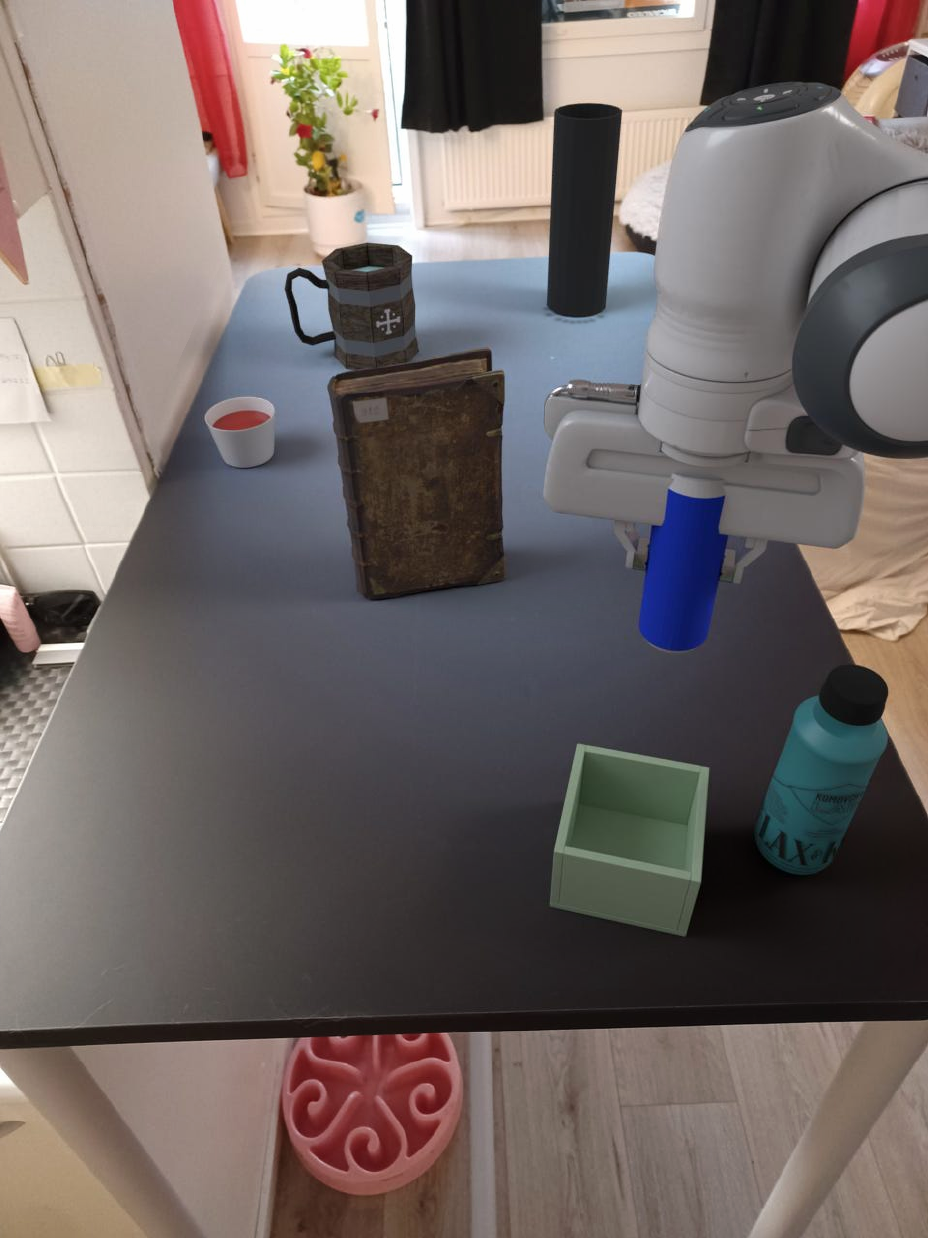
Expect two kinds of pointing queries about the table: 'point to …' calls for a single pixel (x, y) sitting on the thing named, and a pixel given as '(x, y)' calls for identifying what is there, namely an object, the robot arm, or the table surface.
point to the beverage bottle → (823, 771)
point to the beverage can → (684, 566)
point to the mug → (365, 305)
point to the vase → (582, 207)
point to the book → (422, 472)
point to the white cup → (243, 430)
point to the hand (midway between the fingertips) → (683, 571)
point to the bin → (631, 839)
